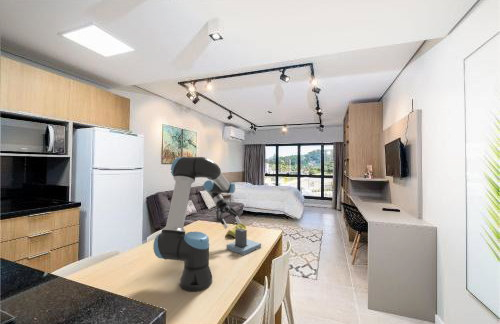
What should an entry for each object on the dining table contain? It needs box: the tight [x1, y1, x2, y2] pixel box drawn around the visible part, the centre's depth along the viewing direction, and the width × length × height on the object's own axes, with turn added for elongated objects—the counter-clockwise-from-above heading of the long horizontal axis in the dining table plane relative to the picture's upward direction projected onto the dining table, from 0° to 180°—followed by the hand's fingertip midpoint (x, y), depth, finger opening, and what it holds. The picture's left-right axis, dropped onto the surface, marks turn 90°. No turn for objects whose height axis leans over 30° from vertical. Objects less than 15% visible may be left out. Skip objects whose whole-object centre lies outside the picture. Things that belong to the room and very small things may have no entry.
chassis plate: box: [225, 238, 262, 256], centre depth 150 cm, size 18×16×2 cm
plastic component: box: [225, 222, 247, 238], centre depth 181 cm, size 20×7×10 cm
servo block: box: [234, 228, 248, 248], centre depth 148 cm, size 4×6×14 cm
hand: (233, 225), depth 154 cm, fingers open, 13 cm apart
